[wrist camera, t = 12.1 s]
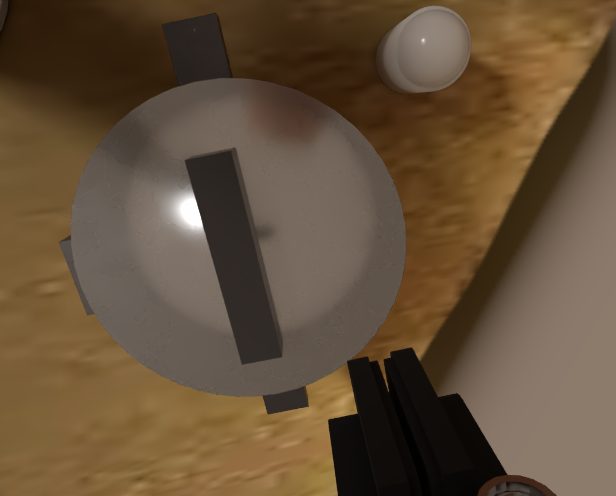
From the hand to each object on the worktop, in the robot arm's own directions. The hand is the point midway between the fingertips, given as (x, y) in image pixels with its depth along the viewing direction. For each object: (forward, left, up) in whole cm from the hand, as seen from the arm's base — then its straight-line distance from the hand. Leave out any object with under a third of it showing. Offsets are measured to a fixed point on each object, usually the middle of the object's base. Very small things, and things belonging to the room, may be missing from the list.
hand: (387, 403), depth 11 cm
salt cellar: (-9, +9, -27) cm, 30 cm away
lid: (0, -5, -16) cm, 17 cm away
